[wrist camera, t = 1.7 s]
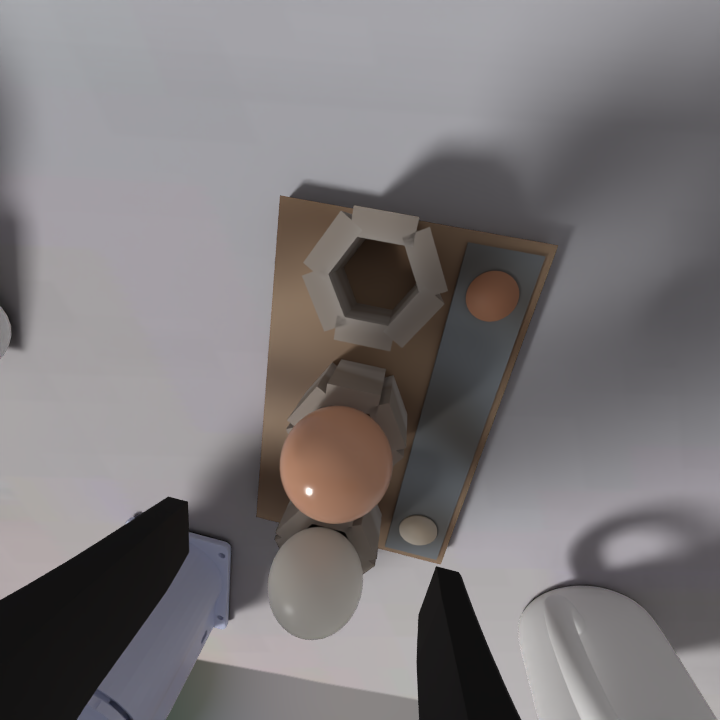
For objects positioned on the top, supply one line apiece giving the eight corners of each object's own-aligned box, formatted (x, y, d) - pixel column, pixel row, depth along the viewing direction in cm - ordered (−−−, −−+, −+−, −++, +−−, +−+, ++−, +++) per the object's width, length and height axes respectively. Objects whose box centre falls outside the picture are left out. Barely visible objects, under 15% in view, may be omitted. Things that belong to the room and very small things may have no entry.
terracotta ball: (384, 481, 16) (375, 565, 12) (295, 459, 17) (256, 534, 13) (405, 400, 15) (401, 465, 11) (305, 378, 15) (264, 433, 11)
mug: (466, 561, 22) (507, 815, 12) (600, 520, 19) (781, 799, 10) (544, 674, 24) (628, 956, 15) (671, 651, 22) (870, 973, 12)
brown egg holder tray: (439, 550, 22) (444, 615, 18) (262, 505, 23) (233, 557, 19) (549, 244, 15) (594, 248, 11) (287, 197, 16) (249, 186, 12)
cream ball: (360, 578, 19) (345, 676, 15) (283, 558, 19) (248, 647, 15) (375, 519, 17) (363, 609, 13) (291, 498, 18) (253, 579, 13)
